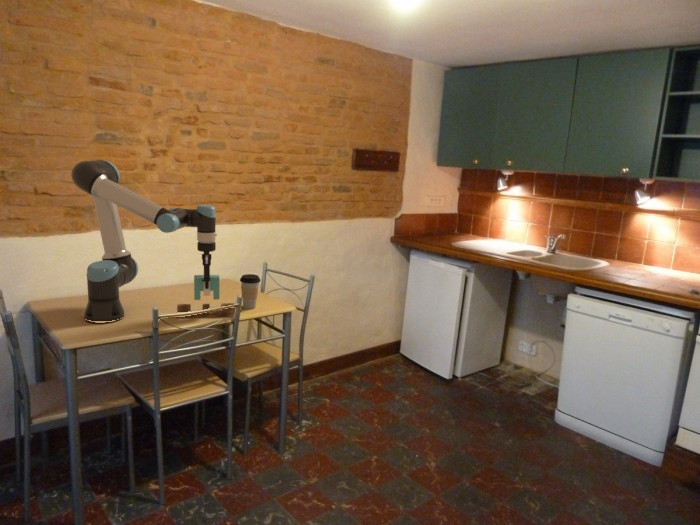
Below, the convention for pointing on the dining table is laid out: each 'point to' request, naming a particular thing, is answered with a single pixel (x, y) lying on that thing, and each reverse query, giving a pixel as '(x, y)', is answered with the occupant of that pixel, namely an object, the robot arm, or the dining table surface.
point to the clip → (200, 286)
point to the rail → (222, 313)
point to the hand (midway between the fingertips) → (206, 293)
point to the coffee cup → (249, 290)
